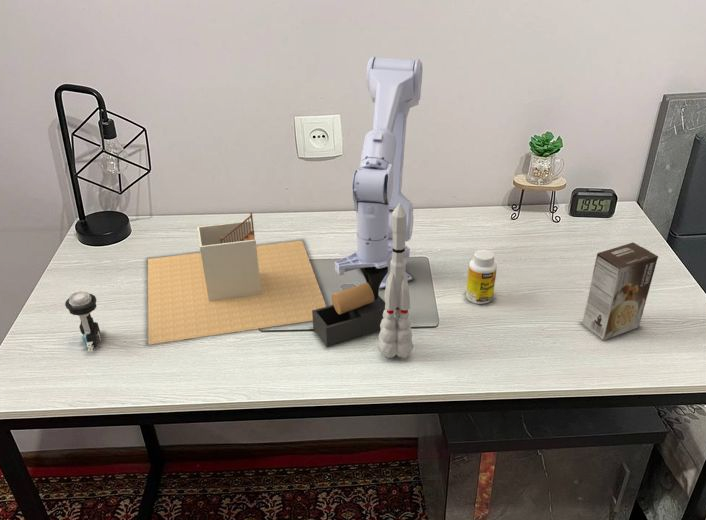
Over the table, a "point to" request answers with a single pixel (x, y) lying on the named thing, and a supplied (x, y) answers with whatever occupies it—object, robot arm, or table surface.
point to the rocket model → (397, 296)
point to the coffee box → (619, 290)
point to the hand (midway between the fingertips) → (372, 297)
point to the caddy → (347, 322)
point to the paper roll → (352, 298)
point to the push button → (85, 316)
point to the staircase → (230, 286)
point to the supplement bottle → (481, 277)
